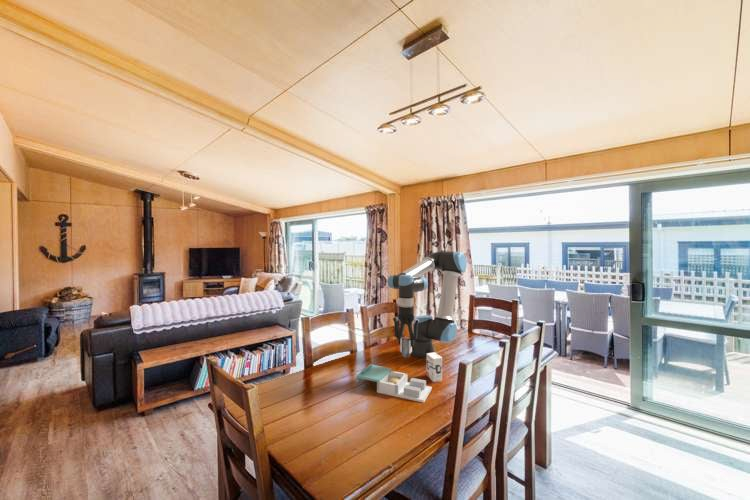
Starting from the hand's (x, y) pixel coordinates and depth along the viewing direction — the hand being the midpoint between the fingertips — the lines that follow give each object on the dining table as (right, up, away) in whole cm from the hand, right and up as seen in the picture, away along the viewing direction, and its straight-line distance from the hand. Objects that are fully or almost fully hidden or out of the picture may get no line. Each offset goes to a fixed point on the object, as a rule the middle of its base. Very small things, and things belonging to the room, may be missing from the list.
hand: (406, 351), depth 159 cm
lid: (-16, -10, -7) cm, 20 cm away
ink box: (+14, -14, 0) cm, 20 cm away
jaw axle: (0, -2, 0) cm, 2 cm away
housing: (-2, -14, -13) cm, 19 cm away
